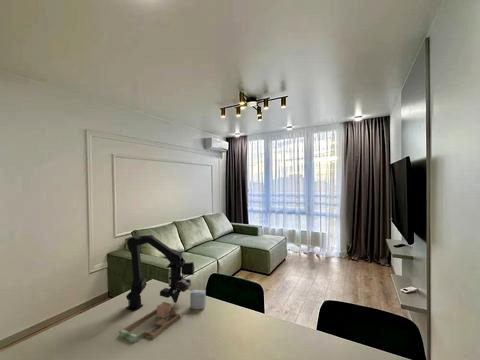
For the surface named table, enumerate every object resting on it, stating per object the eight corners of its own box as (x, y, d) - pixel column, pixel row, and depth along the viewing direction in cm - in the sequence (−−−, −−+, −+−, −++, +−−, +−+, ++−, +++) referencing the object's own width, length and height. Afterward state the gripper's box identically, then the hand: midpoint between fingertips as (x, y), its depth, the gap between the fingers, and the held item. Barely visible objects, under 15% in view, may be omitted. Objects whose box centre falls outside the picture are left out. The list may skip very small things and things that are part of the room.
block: (156, 315, 119) (156, 306, 119) (163, 311, 124) (163, 301, 124) (163, 318, 117) (164, 308, 117) (170, 313, 121) (170, 303, 122)
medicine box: (205, 305, 129) (206, 290, 130) (203, 309, 125) (204, 293, 125) (192, 304, 130) (192, 289, 131) (190, 308, 126) (190, 293, 126)
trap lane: (119, 335, 103) (119, 330, 103) (160, 309, 125) (160, 304, 125) (143, 346, 96) (143, 340, 96) (182, 316, 118) (183, 311, 118)
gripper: (175, 283, 117) (174, 314, 116) (197, 271, 134) (196, 298, 133) (159, 279, 122) (158, 309, 121) (182, 268, 139) (182, 294, 138)
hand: (175, 302), depth 128 cm, fingers closed
